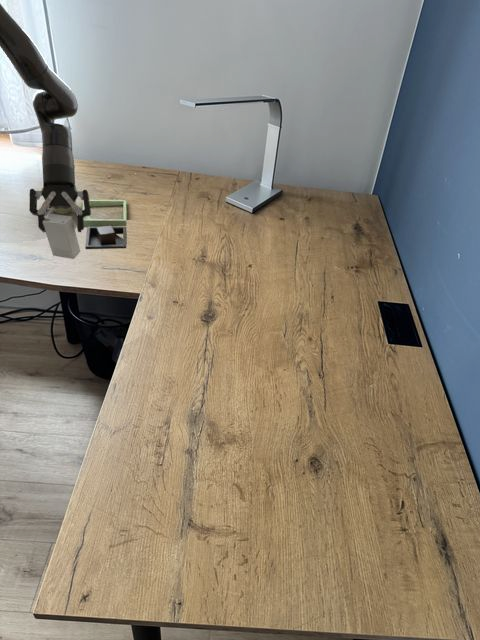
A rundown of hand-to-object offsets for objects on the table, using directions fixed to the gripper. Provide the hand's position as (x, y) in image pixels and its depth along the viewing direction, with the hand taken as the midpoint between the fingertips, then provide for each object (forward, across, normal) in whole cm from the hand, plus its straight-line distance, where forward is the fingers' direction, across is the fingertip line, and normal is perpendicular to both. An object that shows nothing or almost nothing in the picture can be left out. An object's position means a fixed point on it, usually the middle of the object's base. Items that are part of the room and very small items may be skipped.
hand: (61, 231), depth 127 cm
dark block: (0, +10, +12) cm, 15 cm away
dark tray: (0, +10, +12) cm, 16 cm away
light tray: (-10, +9, +23) cm, 26 cm away
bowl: (-13, -3, +26) cm, 29 cm away
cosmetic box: (+6, 0, +7) cm, 9 cm away
